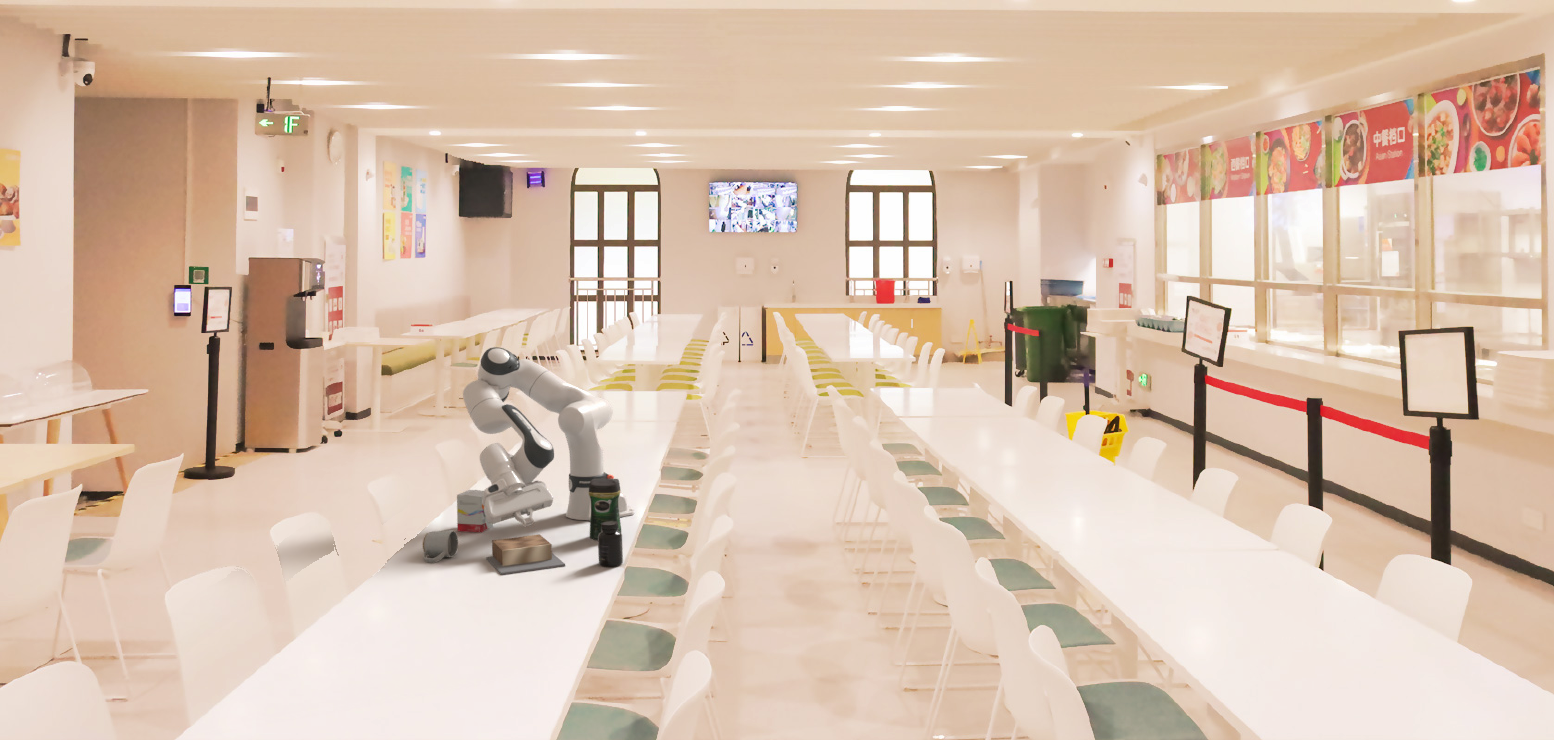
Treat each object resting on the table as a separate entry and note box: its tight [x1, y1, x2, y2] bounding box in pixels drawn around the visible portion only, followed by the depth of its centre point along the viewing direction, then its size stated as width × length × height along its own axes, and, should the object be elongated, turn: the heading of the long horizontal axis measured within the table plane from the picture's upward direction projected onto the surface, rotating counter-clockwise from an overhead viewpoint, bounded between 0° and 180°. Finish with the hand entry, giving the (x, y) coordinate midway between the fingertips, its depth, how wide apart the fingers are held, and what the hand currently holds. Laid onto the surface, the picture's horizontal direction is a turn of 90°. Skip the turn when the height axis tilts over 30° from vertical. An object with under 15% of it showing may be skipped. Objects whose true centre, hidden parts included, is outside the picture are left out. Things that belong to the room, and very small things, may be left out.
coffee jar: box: [589, 478, 622, 541], centre depth 334 cm, size 10×8×19 cm
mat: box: [486, 552, 566, 576], centre depth 308 cm, size 18×17×1 cm
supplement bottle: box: [597, 521, 624, 568], centre depth 307 cm, size 7×7×12 cm
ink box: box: [456, 489, 494, 534], centre depth 344 cm, size 9×9×12 cm
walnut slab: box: [491, 534, 553, 566], centre depth 311 cm, size 14×4×12 cm
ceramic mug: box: [422, 529, 459, 564], centre depth 312 cm, size 11×8×8 cm
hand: (529, 524), depth 317 cm, fingers closed
